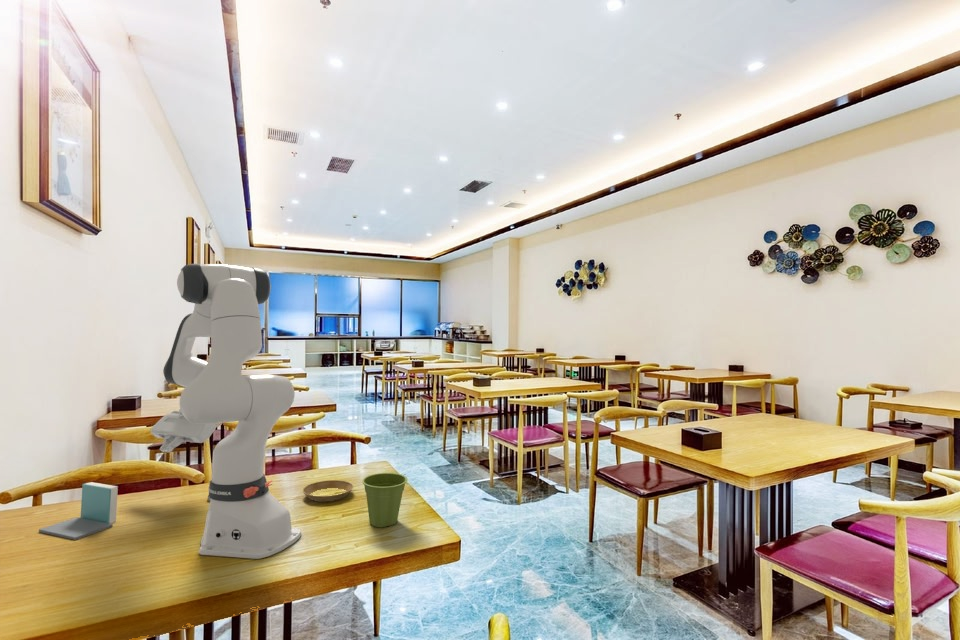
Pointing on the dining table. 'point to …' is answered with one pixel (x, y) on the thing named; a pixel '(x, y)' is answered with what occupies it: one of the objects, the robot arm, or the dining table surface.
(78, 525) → the slate board
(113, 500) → the tile
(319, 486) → the plant saucer
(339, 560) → the dining table surface
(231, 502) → the robot arm
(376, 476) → the plant pot
